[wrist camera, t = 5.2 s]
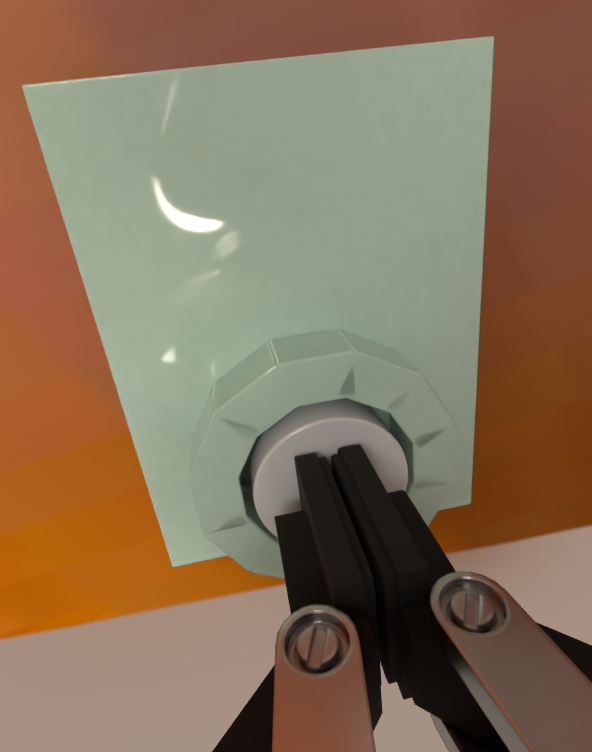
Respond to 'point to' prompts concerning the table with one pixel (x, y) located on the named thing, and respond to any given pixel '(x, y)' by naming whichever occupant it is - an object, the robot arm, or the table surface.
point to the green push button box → (279, 262)
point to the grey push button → (319, 452)
